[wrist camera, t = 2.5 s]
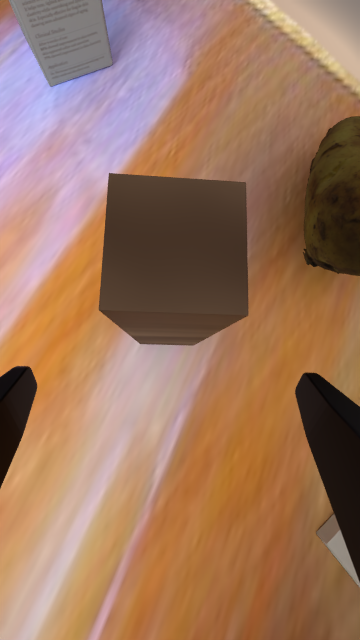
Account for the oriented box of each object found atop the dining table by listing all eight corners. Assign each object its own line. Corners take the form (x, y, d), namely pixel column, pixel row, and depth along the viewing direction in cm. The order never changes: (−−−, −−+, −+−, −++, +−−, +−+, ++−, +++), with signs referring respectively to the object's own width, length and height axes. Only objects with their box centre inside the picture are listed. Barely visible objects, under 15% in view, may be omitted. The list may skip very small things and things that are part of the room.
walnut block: (193, 345, 20) (248, 315, 7) (140, 343, 20) (98, 310, 7) (194, 294, 21) (245, 182, 8) (142, 292, 20) (109, 173, 8)
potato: (398, 194, 23) (518, 108, 15) (328, 310, 21) (427, 279, 13) (319, 142, 24) (397, 32, 16) (243, 252, 21) (289, 188, 14)
